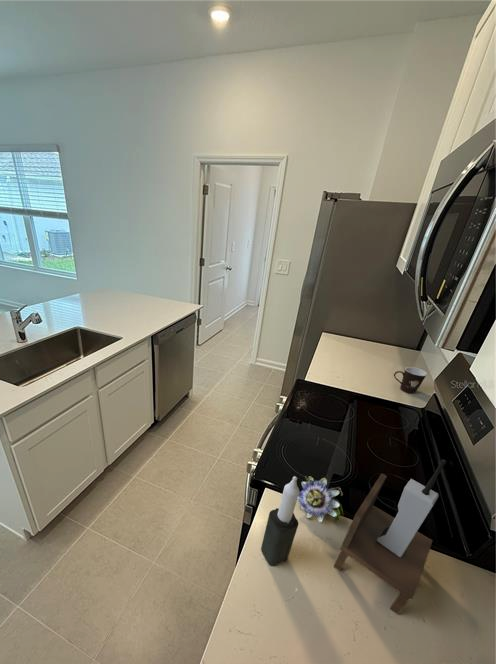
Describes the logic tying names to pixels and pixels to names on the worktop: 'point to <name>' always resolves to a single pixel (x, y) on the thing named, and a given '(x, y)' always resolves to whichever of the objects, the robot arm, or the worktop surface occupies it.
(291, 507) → the candle
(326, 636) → the worktop surface
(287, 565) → the worktop surface
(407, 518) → the vintage mobile phone
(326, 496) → the passion flower
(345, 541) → the shelf
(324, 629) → the worktop surface
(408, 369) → the coffee mug
